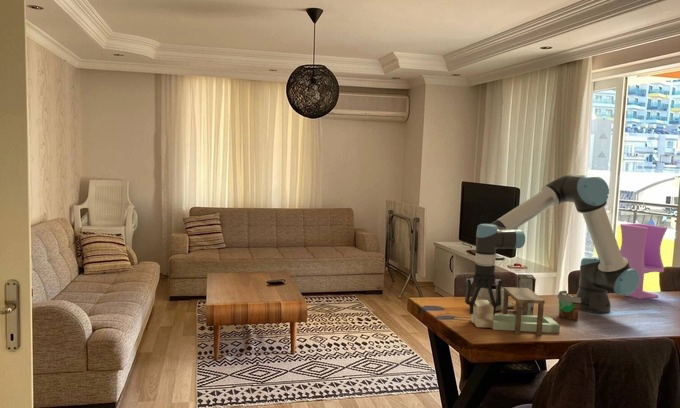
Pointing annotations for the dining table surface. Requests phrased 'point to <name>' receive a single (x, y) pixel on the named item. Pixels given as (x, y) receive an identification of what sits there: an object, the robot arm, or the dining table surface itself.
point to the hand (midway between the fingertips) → (481, 322)
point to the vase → (642, 252)
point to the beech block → (483, 313)
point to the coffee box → (526, 282)
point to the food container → (568, 306)
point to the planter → (484, 295)
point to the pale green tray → (524, 323)
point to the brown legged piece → (524, 305)
